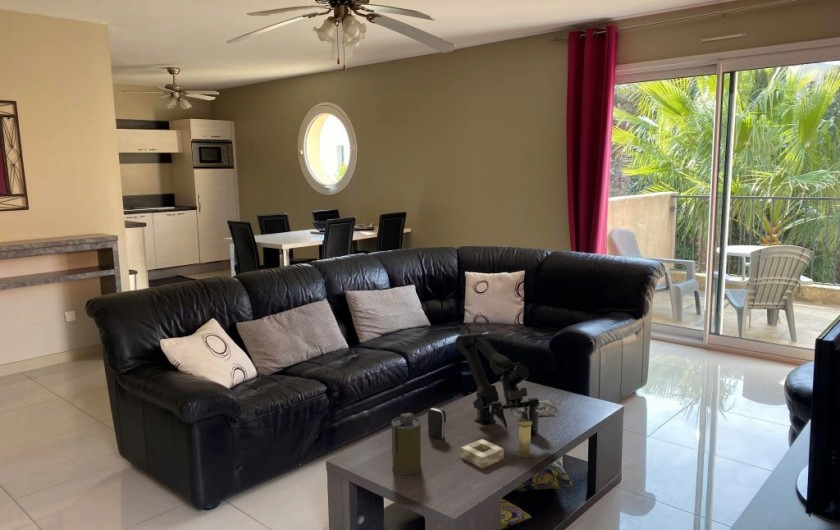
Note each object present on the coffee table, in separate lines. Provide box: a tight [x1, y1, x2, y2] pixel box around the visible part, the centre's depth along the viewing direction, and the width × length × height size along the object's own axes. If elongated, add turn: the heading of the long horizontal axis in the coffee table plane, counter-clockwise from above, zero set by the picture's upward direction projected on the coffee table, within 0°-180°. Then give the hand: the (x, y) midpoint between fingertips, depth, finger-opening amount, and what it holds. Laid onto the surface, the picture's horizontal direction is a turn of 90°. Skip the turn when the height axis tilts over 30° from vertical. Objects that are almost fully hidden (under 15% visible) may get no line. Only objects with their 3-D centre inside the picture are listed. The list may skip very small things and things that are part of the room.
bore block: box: [460, 438, 505, 469], centre depth 225 cm, size 11×11×4 cm
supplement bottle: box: [520, 407, 540, 437], centre depth 245 cm, size 7×7×12 cm
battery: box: [427, 407, 447, 440], centre depth 243 cm, size 7×4×11 cm, turn 53°
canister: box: [391, 412, 422, 476], centre depth 216 cm, size 11×10×20 cm
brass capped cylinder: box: [517, 418, 532, 458], centre depth 227 cm, size 5×5×13 cm
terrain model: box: [510, 399, 560, 418], centre depth 270 cm, size 20×15×3 cm
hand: (518, 427), depth 232 cm, fingers open, 9 cm apart
